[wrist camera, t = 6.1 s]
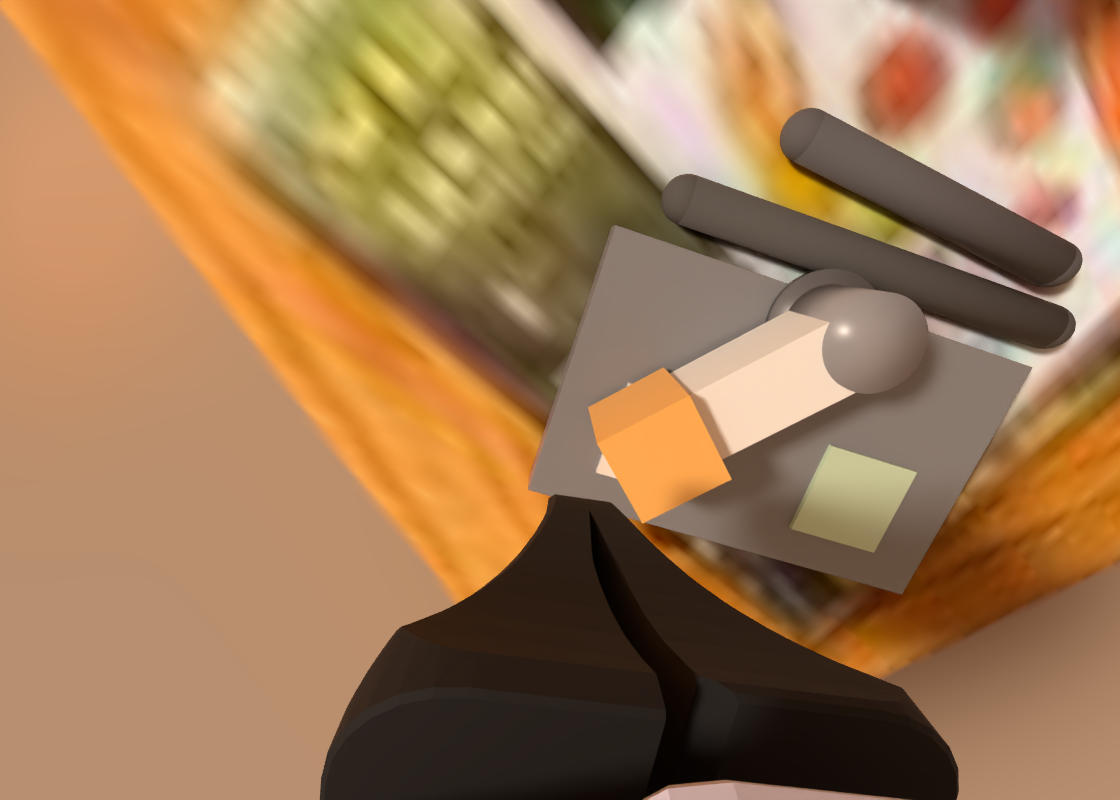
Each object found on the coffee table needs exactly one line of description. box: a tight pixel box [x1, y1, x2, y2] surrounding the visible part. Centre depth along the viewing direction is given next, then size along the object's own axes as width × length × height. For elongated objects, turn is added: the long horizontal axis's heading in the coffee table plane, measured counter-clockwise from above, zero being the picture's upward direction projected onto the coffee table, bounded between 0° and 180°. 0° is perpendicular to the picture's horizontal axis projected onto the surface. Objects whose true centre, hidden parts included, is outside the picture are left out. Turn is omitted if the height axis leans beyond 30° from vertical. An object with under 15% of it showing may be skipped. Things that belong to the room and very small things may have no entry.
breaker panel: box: [528, 225, 1032, 594], centre depth 20 cm, size 16×11×2 cm
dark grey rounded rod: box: [780, 108, 1082, 287], centre depth 18 cm, size 12×2×2 cm, turn 66°
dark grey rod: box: [662, 174, 1076, 349], centre depth 19 cm, size 16×2×2 cm, turn 72°
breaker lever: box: [588, 284, 928, 524], centre depth 17 cm, size 3×10×4 cm, turn 119°
